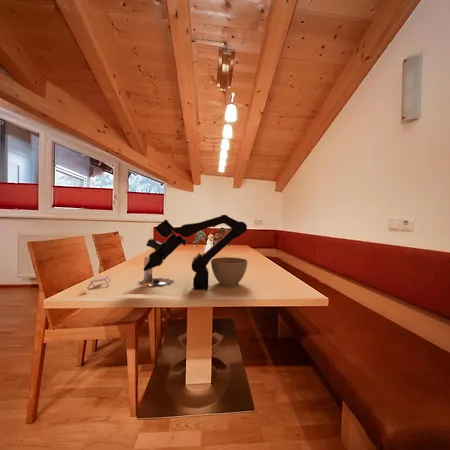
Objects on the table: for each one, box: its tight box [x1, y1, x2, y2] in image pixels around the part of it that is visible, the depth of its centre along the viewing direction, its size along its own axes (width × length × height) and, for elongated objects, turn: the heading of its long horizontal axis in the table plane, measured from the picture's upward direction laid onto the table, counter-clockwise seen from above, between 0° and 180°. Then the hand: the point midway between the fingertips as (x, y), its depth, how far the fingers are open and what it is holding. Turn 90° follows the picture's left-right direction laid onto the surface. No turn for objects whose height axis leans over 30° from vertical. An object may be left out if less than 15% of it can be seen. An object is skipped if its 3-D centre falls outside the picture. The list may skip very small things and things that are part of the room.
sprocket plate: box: [137, 277, 176, 289], centre depth 114 cm, size 17×17×3 cm
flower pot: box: [210, 256, 248, 287], centre depth 119 cm, size 18×18×12 cm
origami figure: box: [86, 275, 112, 290], centre depth 106 cm, size 12×8×5 cm
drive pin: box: [143, 256, 153, 283], centre depth 109 cm, size 4×4×11 cm
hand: (145, 269), depth 108 cm, fingers closed on drive pin, 3 cm apart
